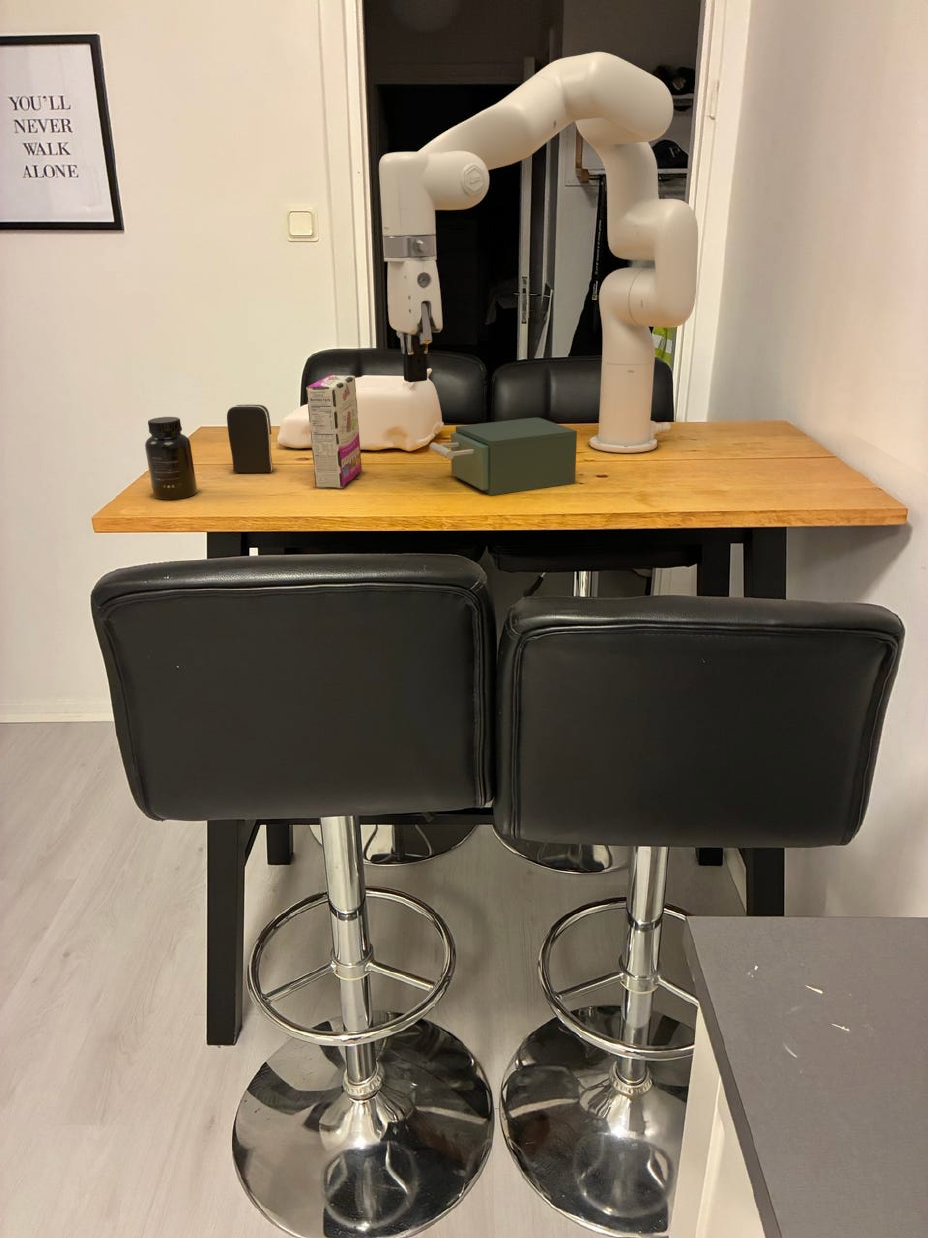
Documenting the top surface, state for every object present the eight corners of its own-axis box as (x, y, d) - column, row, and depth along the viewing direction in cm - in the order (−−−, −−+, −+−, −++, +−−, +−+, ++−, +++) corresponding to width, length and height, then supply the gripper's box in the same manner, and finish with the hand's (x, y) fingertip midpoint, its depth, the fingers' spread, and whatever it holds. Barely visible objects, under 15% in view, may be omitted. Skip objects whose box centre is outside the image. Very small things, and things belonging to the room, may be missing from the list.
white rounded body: (427, 455, 167) (425, 381, 161) (273, 450, 172) (266, 378, 166) (448, 433, 184) (447, 365, 178) (308, 429, 189) (302, 363, 184)
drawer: (453, 494, 139) (452, 450, 137) (424, 477, 149) (423, 436, 146) (561, 478, 147) (562, 437, 144) (527, 463, 156) (527, 424, 154)
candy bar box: (335, 471, 157) (328, 374, 150) (362, 472, 156) (356, 375, 149) (313, 488, 147) (304, 385, 140) (342, 489, 146) (335, 386, 139)
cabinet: (490, 495, 142) (490, 441, 138) (456, 477, 152) (455, 426, 149) (575, 483, 148) (577, 430, 144) (536, 466, 158) (537, 417, 155)
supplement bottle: (158, 489, 147) (147, 415, 142) (201, 488, 148) (191, 414, 143) (148, 501, 141) (136, 424, 136) (193, 499, 141) (182, 423, 137)
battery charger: (277, 468, 159) (270, 402, 155) (271, 473, 156) (265, 406, 151) (237, 468, 160) (230, 402, 155) (231, 473, 156) (224, 406, 151)
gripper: (456, 249, 124) (459, 385, 131) (413, 247, 136) (419, 371, 144) (405, 251, 121) (412, 390, 128) (366, 249, 133) (374, 376, 141)
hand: (415, 380), depth 136 cm, fingers closed
